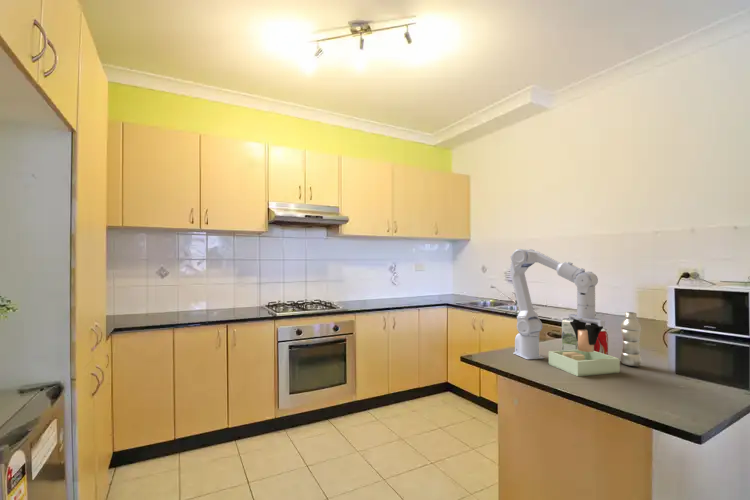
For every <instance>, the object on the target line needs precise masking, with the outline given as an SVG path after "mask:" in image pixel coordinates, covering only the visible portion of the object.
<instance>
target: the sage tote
mask: <svg viewBox="0 0 750 500" xmlns="http://www.w3.org/2000/svg"><path fill="white" fill-rule="evenodd" d="M563 352H576V353H579V354H582V355H585V360H581V361H577V360H574V359H571V358H569V357H566V356H563ZM620 362H621V358H620V357H619V358H618V357H615V356H613V355H610V354H608V355H606V354H603V353H600V352H596V351H594V352H584V351H580V350H578V349H577V350H562V349H561V350H549V351H548V365H549V366H551V367H553V368H557V369H559V370H561V371H564V372H565V373H568V374H570V375H574V376H576V377H585V376H586V377H587V376H596V375H597V376H599V375H607V374H608V375H609V374H619V373H620V372H621V371H620V370H621V369H620V368H621V367H620V366H621V363H620Z"/></svg>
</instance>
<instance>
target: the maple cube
mask: <svg viewBox="0 0 750 500" xmlns="http://www.w3.org/2000/svg"><path fill="white" fill-rule="evenodd" d="M563 356H566V357H569V358H571V359H574V360H577V361H581V360H585V355H582V354H579V353H576V352H563Z"/></svg>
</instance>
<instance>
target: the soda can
mask: <svg viewBox="0 0 750 500" xmlns="http://www.w3.org/2000/svg"><path fill="white" fill-rule="evenodd" d="M594 351H596V352H600V353H603V354H606V355H609V334H608V332H607V329H606V328H605V329H604V328H603V329H602V330H601V331H600V333H599V335H598V337H597V341H596V344H595V345H594Z"/></svg>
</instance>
